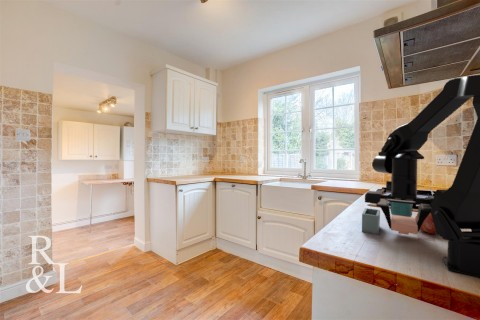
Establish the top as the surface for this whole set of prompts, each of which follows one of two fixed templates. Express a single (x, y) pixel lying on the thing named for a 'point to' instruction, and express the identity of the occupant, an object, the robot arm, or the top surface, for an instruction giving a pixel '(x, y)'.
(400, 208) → the beverage bottle
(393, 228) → the lid
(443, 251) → the top surface
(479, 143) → the robot arm
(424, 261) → the top surface
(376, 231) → the box
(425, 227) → the pomegranate
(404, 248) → the top surface
